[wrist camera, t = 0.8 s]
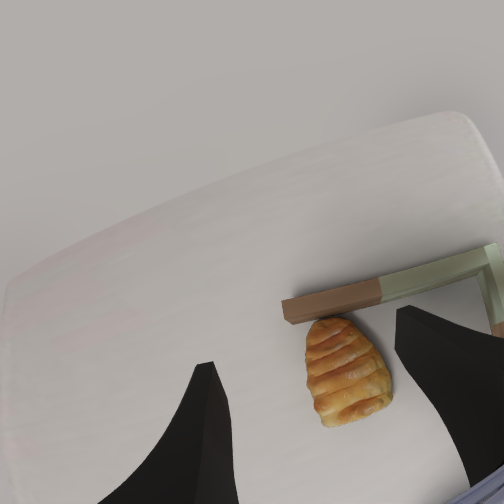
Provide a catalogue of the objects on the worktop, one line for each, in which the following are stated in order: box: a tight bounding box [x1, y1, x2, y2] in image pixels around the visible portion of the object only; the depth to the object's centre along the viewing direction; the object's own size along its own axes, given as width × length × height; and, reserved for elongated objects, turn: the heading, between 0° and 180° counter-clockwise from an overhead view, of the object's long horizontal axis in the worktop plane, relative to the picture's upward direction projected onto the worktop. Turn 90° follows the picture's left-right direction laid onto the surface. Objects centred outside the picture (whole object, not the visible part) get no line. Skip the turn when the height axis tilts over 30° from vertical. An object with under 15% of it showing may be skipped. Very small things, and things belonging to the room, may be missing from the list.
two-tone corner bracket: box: [281, 242, 504, 338], centre depth 22 cm, size 14×20×4 cm
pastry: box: [305, 317, 393, 428], centre depth 24 cm, size 9×7×4 cm
